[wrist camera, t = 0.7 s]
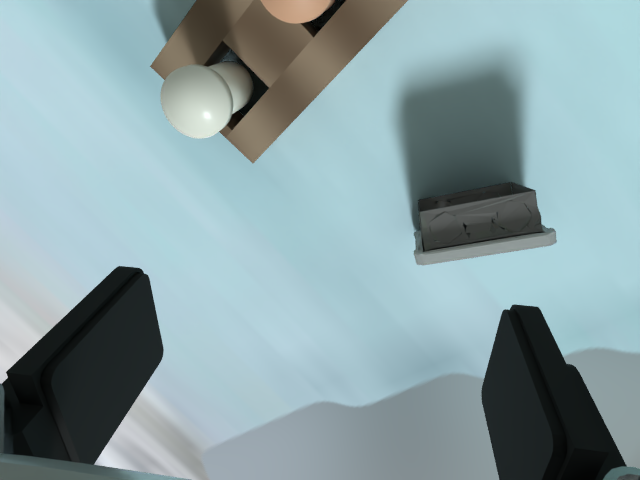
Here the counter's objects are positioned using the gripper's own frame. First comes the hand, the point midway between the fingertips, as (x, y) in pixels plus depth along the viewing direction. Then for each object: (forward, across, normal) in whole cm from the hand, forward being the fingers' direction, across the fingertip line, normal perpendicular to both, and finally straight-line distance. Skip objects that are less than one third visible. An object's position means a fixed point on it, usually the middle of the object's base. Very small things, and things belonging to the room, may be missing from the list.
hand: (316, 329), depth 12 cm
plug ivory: (+24, +10, -2) cm, 26 cm away
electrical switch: (+27, -8, +7) cm, 29 cm away
